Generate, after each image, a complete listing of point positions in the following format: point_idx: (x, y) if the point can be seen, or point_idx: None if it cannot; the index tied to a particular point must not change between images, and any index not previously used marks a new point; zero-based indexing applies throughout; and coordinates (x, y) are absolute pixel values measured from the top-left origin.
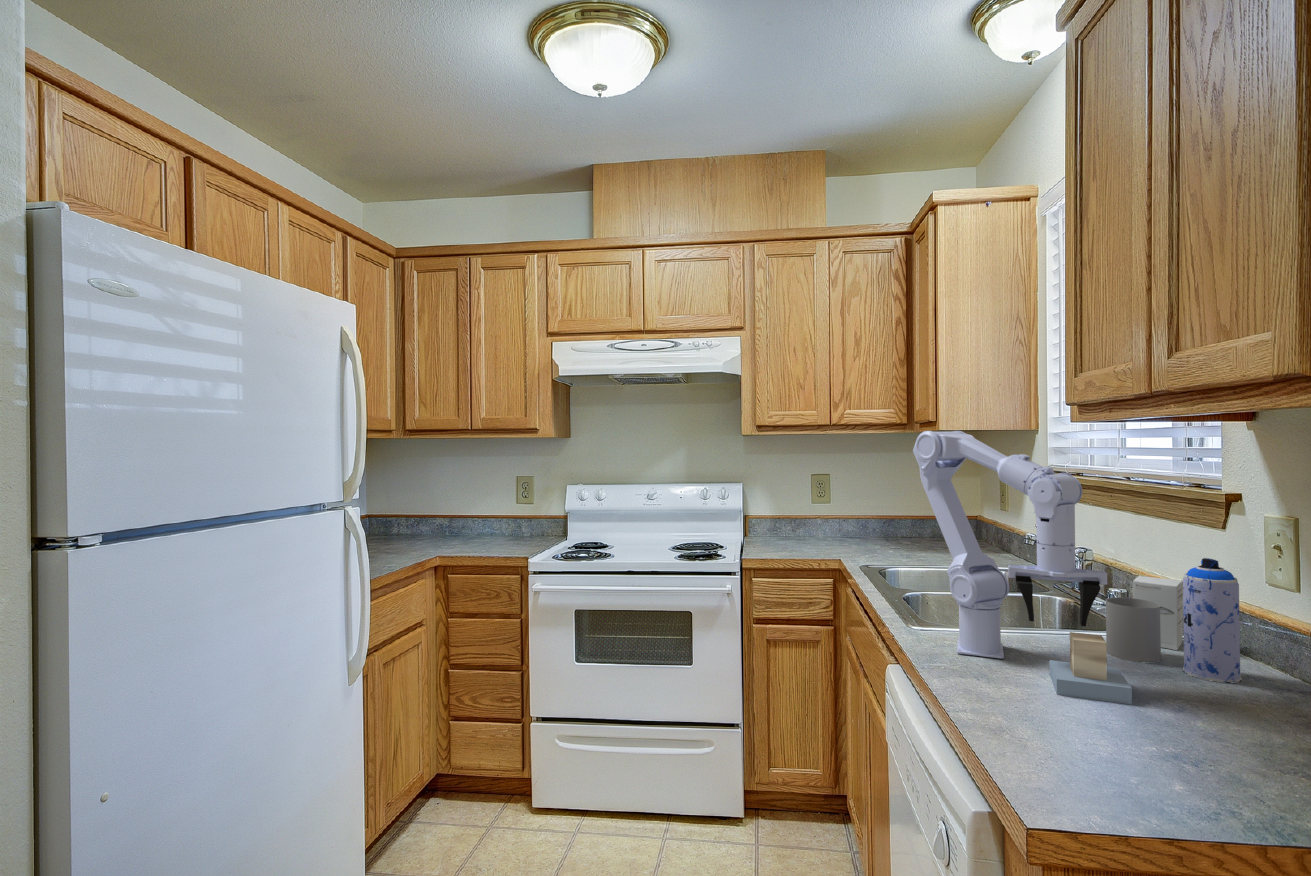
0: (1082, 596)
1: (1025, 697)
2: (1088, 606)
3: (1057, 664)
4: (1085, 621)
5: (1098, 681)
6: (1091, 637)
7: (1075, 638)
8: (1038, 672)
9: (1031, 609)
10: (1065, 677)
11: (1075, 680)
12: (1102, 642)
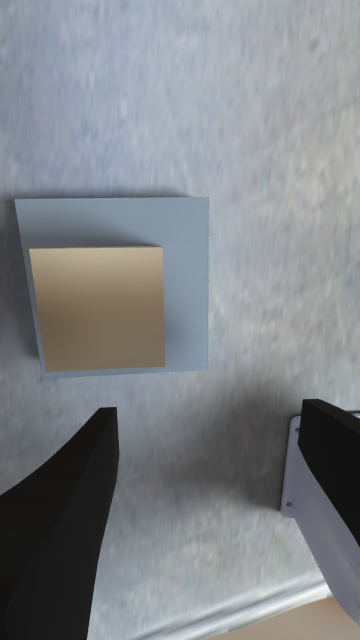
0: (71, 543)
1: (279, 143)
2: (53, 466)
3: (191, 340)
4: (94, 415)
5: (99, 226)
6: (86, 316)
7: (152, 271)
8: (224, 358)
9: (349, 421)
10: (183, 224)
11: (159, 206)
12: (45, 251)
